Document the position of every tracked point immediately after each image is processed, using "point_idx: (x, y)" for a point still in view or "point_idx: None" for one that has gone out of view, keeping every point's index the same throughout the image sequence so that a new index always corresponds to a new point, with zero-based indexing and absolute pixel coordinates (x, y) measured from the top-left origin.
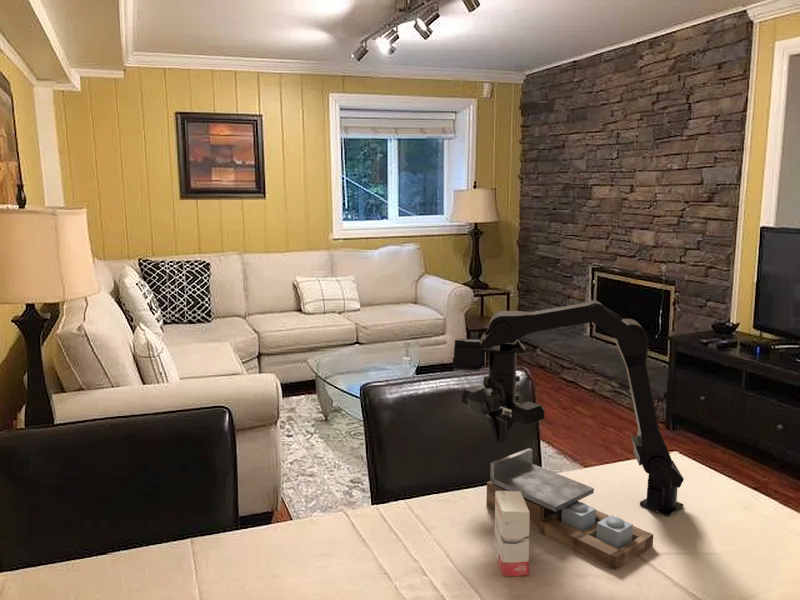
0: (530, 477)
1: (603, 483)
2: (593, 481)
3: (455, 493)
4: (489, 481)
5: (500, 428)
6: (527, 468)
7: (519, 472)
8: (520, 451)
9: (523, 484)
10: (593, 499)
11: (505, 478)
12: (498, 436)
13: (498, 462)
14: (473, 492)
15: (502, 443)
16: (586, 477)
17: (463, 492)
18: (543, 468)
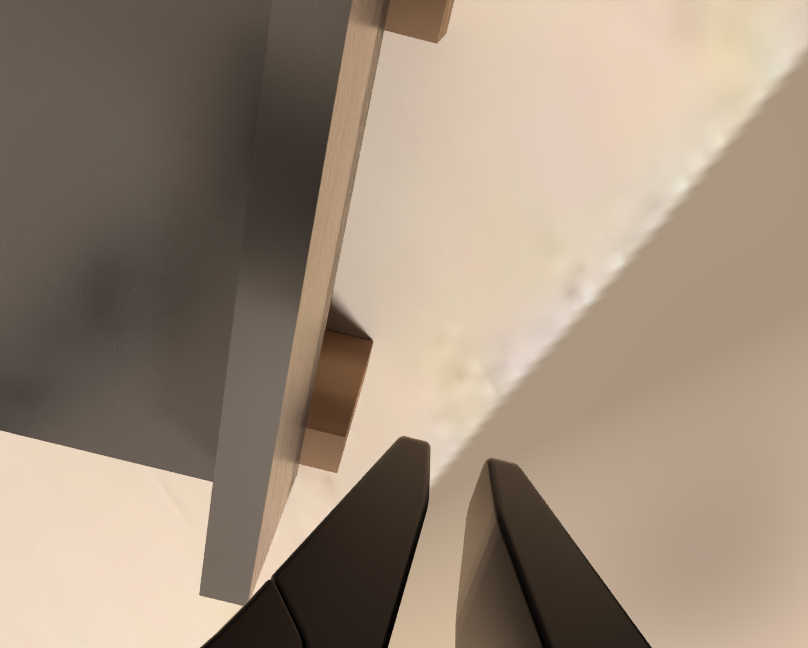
0: (74, 230)
1: (94, 622)
2: (139, 620)
3: (787, 35)
4: (436, 11)
5: (352, 638)
6: (217, 388)
7: (221, 274)
8: (264, 504)
9: (12, 31)
10: (18, 462)
11: (242, 50)
12: (486, 535)
13: (273, 35)
14: (654, 143)
15: (397, 446)
16: (188, 640)
17: (729, 94)
18: (119, 453)
